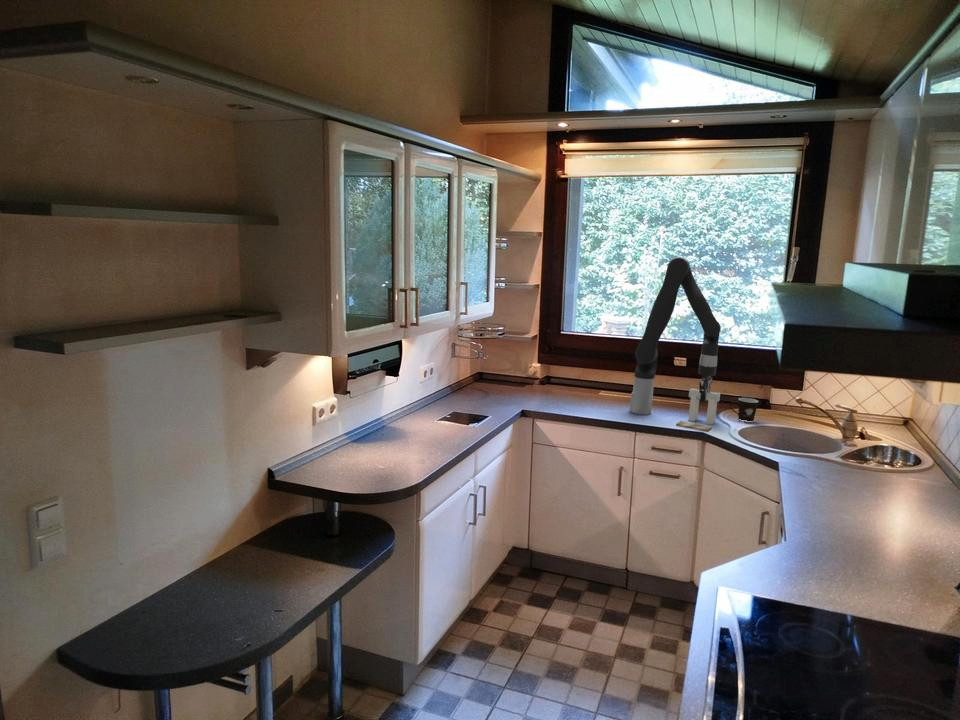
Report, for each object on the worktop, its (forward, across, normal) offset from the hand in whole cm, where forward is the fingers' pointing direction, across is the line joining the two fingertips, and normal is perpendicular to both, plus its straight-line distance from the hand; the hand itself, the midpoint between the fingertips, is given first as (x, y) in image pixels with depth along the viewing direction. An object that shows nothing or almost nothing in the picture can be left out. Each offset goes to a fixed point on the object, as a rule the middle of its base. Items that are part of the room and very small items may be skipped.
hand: (703, 400), depth 303 cm
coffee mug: (+10, -14, +15) cm, 23 cm away
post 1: (+10, 0, -4) cm, 10 cm away
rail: (-1, 0, 0) cm, 1 cm away
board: (+10, +13, 0) cm, 16 cm away
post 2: (+9, 0, +4) cm, 10 cm away
